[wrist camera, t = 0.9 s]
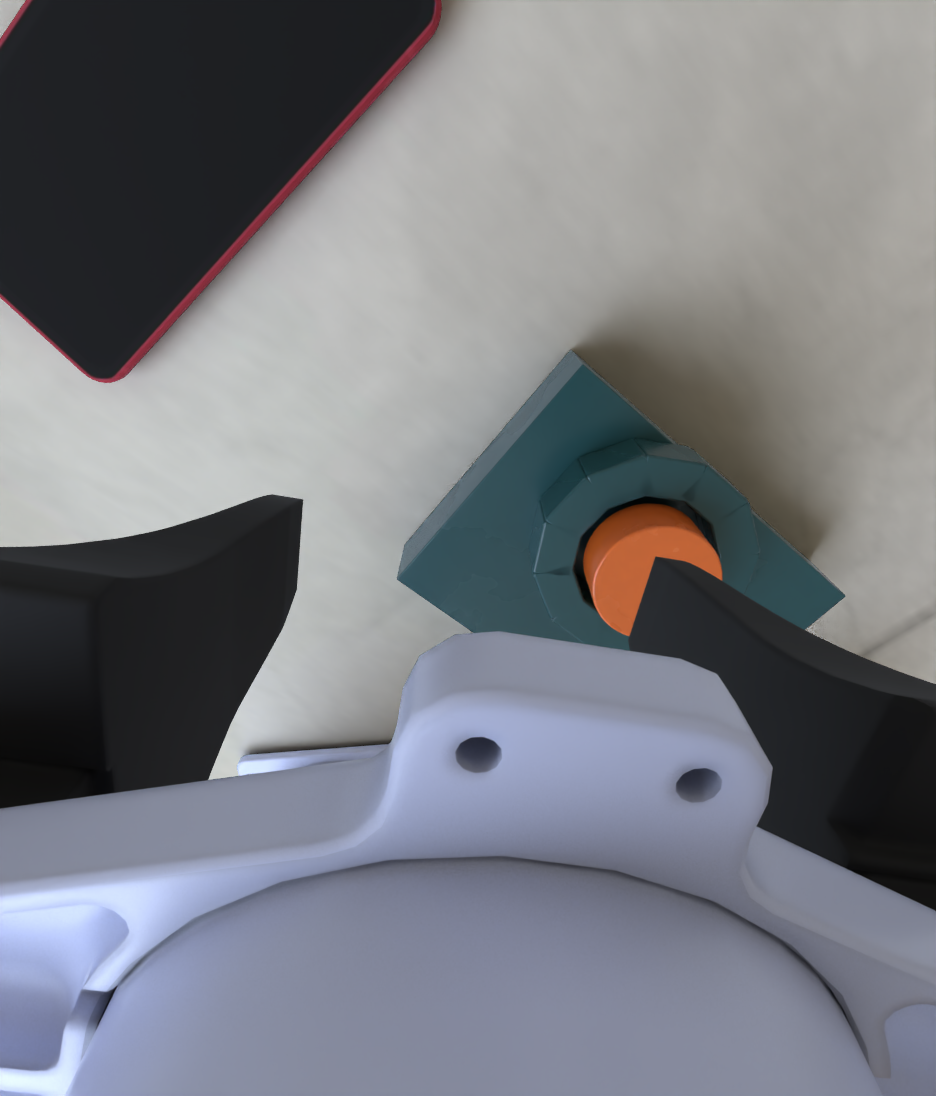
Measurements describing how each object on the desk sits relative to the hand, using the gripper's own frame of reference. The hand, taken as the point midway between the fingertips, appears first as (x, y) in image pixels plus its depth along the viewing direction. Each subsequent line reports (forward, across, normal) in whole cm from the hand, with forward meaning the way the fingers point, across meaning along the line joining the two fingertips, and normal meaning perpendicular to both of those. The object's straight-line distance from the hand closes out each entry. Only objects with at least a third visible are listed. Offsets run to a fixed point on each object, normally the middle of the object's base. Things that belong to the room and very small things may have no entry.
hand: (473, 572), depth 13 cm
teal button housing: (+10, -6, +4) cm, 12 cm away
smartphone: (+10, +10, -8) cm, 16 cm away
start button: (+6, -5, +2) cm, 8 cm away
